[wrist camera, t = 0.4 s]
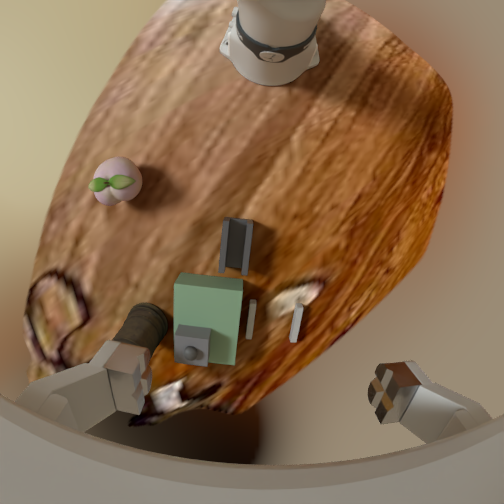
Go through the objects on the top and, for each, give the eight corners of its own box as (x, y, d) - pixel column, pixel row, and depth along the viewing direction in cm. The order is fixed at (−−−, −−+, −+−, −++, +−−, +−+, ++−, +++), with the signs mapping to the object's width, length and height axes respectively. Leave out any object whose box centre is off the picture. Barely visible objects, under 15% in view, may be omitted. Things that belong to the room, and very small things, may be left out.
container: (140, 294, 55) (104, 338, 38) (176, 319, 57) (152, 371, 39) (123, 323, 57) (88, 370, 40) (156, 346, 59) (131, 399, 41)
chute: (220, 264, 54) (218, 272, 49) (225, 216, 52) (223, 220, 47) (247, 266, 55) (247, 275, 50) (252, 219, 52) (253, 224, 47)
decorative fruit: (145, 152, 48) (124, 147, 39) (153, 194, 50) (134, 198, 41) (103, 166, 49) (76, 165, 39) (111, 206, 51) (86, 213, 41)
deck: (181, 272, 54) (166, 295, 43) (305, 285, 56) (318, 310, 45) (180, 342, 58) (168, 373, 47) (291, 352, 59) (299, 385, 49)
